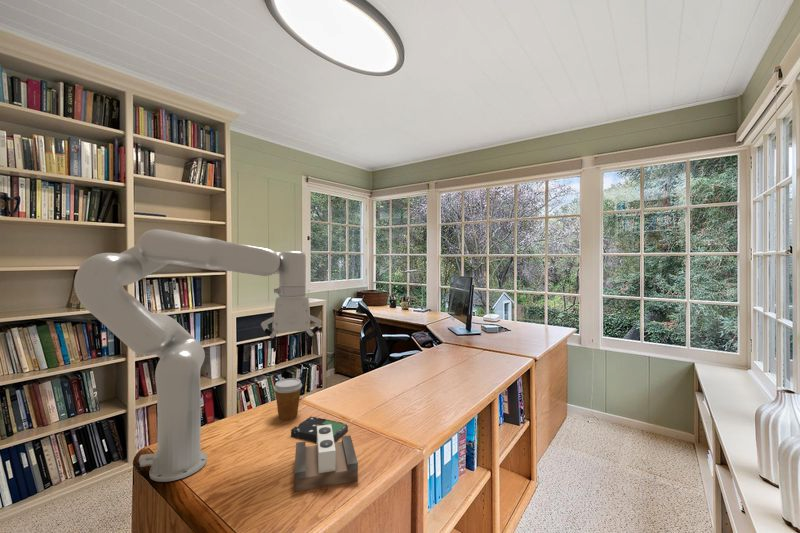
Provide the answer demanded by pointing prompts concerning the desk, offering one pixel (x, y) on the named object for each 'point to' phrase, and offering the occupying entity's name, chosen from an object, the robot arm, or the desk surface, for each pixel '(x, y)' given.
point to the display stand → (311, 478)
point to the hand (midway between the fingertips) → (292, 349)
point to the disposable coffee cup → (288, 398)
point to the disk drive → (309, 429)
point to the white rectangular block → (325, 449)
